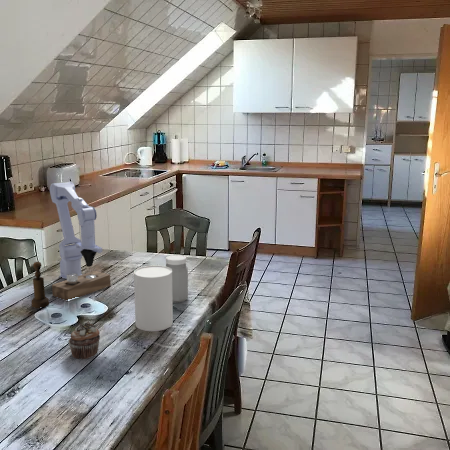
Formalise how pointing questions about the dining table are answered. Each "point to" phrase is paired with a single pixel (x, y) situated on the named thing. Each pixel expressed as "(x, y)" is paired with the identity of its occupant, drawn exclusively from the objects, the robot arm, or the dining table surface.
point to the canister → (153, 298)
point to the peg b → (90, 276)
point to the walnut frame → (81, 286)
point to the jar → (178, 277)
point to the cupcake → (84, 341)
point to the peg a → (72, 279)
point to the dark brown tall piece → (39, 289)
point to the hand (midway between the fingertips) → (89, 266)
